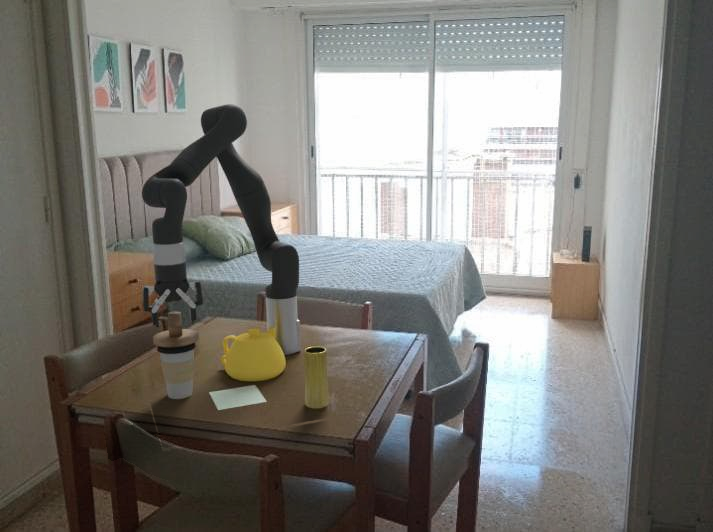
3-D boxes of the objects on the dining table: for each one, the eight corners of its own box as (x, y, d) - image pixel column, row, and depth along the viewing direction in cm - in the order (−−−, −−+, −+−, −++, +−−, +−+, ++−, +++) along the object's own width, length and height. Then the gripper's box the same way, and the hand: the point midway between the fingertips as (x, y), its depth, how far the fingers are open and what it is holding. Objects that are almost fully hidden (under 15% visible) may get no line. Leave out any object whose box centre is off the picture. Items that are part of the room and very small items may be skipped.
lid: (195, 331, 178) (193, 305, 177) (202, 343, 168) (200, 316, 167) (151, 336, 174) (149, 310, 173) (156, 349, 164) (153, 321, 163)
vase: (304, 401, 170) (302, 346, 167) (329, 399, 170) (327, 345, 167) (304, 411, 164) (302, 354, 161) (330, 409, 164) (328, 353, 161)
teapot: (269, 388, 179) (266, 341, 176) (206, 380, 185) (203, 335, 182) (300, 362, 197) (299, 320, 194) (243, 356, 203) (240, 315, 201)
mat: (255, 387, 179) (255, 384, 179) (267, 403, 168) (266, 401, 168) (209, 394, 175) (209, 392, 175) (218, 412, 164) (218, 410, 164)
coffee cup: (189, 405, 169) (185, 347, 166) (154, 402, 171) (149, 345, 167) (205, 390, 178) (201, 335, 175) (171, 388, 180) (167, 333, 176)
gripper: (196, 255, 173) (200, 317, 176) (137, 260, 168) (143, 324, 171) (201, 260, 166) (206, 324, 169) (140, 266, 161) (146, 332, 164)
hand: (174, 324), depth 170 cm, fingers open, 8 cm apart
